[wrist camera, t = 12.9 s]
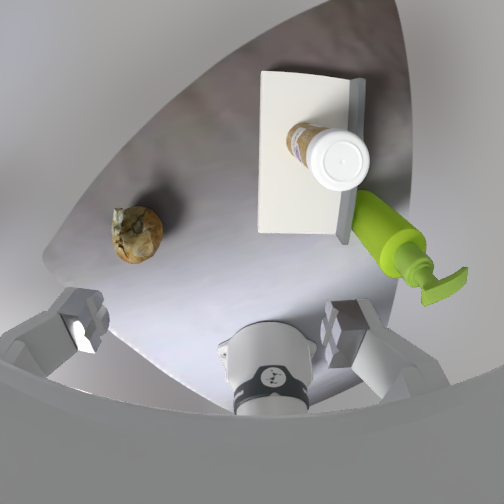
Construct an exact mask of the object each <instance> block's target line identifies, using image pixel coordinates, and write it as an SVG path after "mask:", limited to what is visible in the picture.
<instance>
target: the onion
mask: <svg viewBox="0 0 504 504" xmlns="http://www.w3.org/2000/svg"><path fill="white" fill-rule="evenodd" d="M111 230H112V242H113V245H114V248H115V251H116V253H117V255H118V256H119V257H120V258H121V259H123V260H124V261H126V262H128V263H130V264H138V263H141V262H143V261H145V260H147V259H149V258H151V257H152V256H153V255H154V254H155V252H156V251H157V249H158V247H159V245H160V243H161V241H162V238H163V226H162V222H161V220H160V219H159V218H158V217H157V215H156V214H155V212H154V211H152V210H151V209H149V208H146V207H143V206H134V207H130V208H128V209H125V210H123V209H122V208H115V209H114V216H113V221H112V227H111Z"/></svg>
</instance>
